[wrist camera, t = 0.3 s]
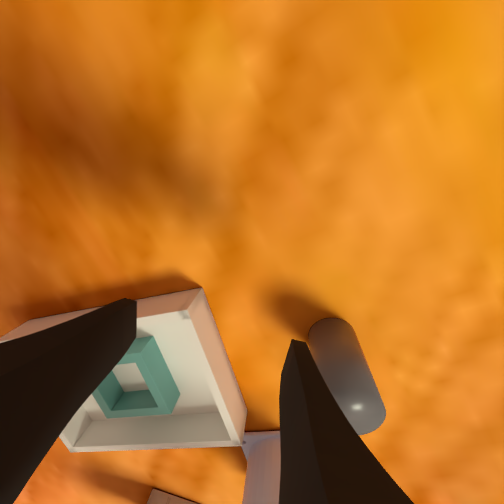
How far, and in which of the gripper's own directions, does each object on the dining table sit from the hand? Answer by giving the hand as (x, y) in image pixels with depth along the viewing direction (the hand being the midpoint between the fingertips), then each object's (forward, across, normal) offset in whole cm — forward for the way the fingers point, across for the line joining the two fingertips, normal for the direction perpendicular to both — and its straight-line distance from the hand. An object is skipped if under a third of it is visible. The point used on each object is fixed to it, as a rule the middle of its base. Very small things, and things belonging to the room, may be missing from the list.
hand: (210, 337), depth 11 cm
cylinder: (+10, -9, +5) cm, 14 cm away
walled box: (+10, +9, +15) cm, 20 cm away
